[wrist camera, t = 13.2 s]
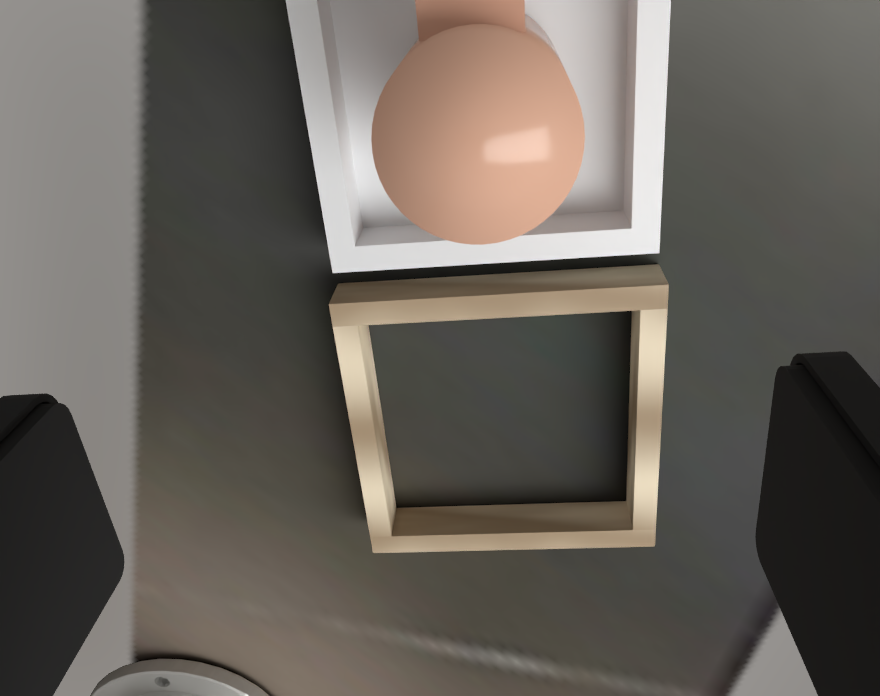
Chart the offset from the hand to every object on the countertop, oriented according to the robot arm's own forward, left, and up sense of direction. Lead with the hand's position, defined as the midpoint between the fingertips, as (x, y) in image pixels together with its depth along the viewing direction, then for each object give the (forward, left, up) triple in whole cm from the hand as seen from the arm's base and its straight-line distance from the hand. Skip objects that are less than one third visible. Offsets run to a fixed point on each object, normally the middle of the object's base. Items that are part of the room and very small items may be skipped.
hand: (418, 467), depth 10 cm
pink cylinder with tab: (+1, -1, -20) cm, 20 cm away
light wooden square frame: (-13, -1, -21) cm, 24 cm away
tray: (+1, -1, -21) cm, 21 cm away
